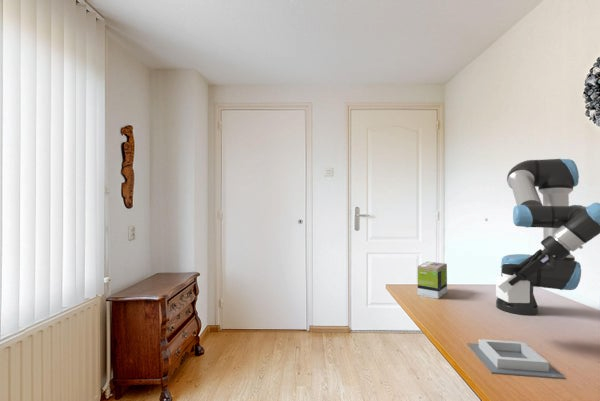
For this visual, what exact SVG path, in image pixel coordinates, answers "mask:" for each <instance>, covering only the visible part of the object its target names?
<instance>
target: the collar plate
mask: <svg viewBox="0 0 600 401" xmlns="http://www.w3.org/2000/svg"><path fill="white" fill-rule="evenodd" d="M466 345H467V346H468V347H469V348H470V350H471V351H472V352H473V353H474V354H475V356H476V357H477V358H478V360H480V361H481V362H482V363H483V365H484V366H485V367H486V369H487V370H488V371H489V372H490V374H493V375H505V376H506V375H508V376H519V377H520V376H521V377H531V378H533V377H534V378H545V379H548V378H549V379H557V378H559V380H566V377H565V376H564V375H563V374H561V373H560V372H559V371H558V370H556V369H555V368H554V367H553V366H551V365H550V363H549V361H548V360H547V359H545V358H544V357H542V355H540V354H539V353H537V351H535V350H534V349H533V348H532V347H530V346H529V345H528V344H526V343H525V342H524V341H515V340H513V341H511V340H498V339H495V340H494V339H483V338H481V339H480V338H479V339H478V343H470V342H467V343H466Z"/></svg>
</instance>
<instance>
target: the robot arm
mask: <svg viewBox="0 0 600 401" xmlns="http://www.w3.org/2000/svg"><path fill="white" fill-rule="evenodd" d="M579 179H580V176H579V169H578V166H577V163H576V162H575V161H574V160H573V159H570V158H550V159H549V158H548V159H546V158H545V159H529V160H528V159H527V160H524V161H521V162H519V163H517V164H516V165H514V166H513V167H512V168H511V169H510V170H509V172H508V173H507V177H506V182H507V186H509V188H510V189H511V190H512V192H513V193H512V194H513V196H514V200H515V202H516V203H515V204H516V205H515V206H513V210H512V220H513V221H512V223H513V224H514V225H515V226H516V227H524V228H543V229H542V230H543V235H542V236H543V239H542V240H541V241H540V244H541V245H542V246H543V249H538V250H537V251H536V252H535V253H534V254H527V253H525V254H523V253H518V254H516V253H515V254H508V255H507V254H506V255H505V256H503V257H501V265H500V268H501V270H500V273H501V274H500V276H503V275H502V265H503V264H506V263H512V264H519V265H521V266H523V267H524V268H523V269H521V270H520V271H519V272H518V273H517V272H514V275H512V276H511V277H510V278H508V279H507V280H506V281H504V282H503V283H501V284H500V285H499V286H498V287H499V288H500V289H501V290H502V291H503V292H504V293H506V292H507V291H509V290H510V289H511V288H513V287H514V286H516V285H517V284H518V283H520V282H521V281H525V280H527V281H529V282H530V303H508V302H506V301H504V300H502V299H500V298H498V297H496V301H495V307H496V308H498V309H499V310H501V311H504V312H507V313H512V314H517V315H523V316H524V315H525V316H534V315H537V314H539V306H538V303H537V300H536V298H535V295H534V288H544V289H553V290H560V291H564V290H565V291H574V290H576V289H577V287H578V286H579V284H580V282H581V277H582V268H581V264H580V262H578V261H577V260H576V259H575V256H574V255H573V254H572V253H571V252H575V251H576V250H578V249H581V250H582V249H583V248H584V247H583V246H584V245H585V244H587V243H588V242H590V241H591V240H592V239H594V238H596V237H597V236H598V235H599V234H600V203H599V202H593V203H591V204H590V205H588V206H583V205H580V204H572V205H570V201H569V195H570V193H572V192H573V191H574V188H575V187H577V186H578V185H579ZM536 187H537V188H536ZM537 189H538V191H537ZM539 193H540V194H541V195H542V200H541V198H540V196H539Z"/></svg>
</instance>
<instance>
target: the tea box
mask: <svg viewBox="0 0 600 401" xmlns="http://www.w3.org/2000/svg"><path fill="white" fill-rule="evenodd" d="M447 268H448V266H447V263H445V262H444V263H442V262H435V261H434V262H433V261H426V262H425V261H424V262H423V263H422V264H419V265H417V296H420V297H426V298H430V299H435V298H436V299H437V300H438V299H440V298H441V297H442V296H444V295H445V294H446V293H447V292H448V271H447Z"/></svg>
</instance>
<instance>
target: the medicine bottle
mask: <svg viewBox="0 0 600 401" xmlns="http://www.w3.org/2000/svg"><path fill="white" fill-rule="evenodd" d="M523 268H524V267H523V266H521V265H519V264H512V263H506V264H503V265H502V275H503V276H501V275H498V276H496V277H495V297H496V298H500V299H502V300H504V301H506V302H508V303H530V282H529V281H527V280H525V281H521V282H520V283H518V284H517V285H516V286H514V287H513V288H511V289H510V290H509V291H507V292H506V293H504V292H503V291H502V290H501V289H500V288H499V287H498V286H499V285H500V284H501V283H503V282H504V281H506V280H507V279H508V278H510V277H511V276H512V275H514V272H517V273H518V272H519V271H520V270H521V269H523Z"/></svg>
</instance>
